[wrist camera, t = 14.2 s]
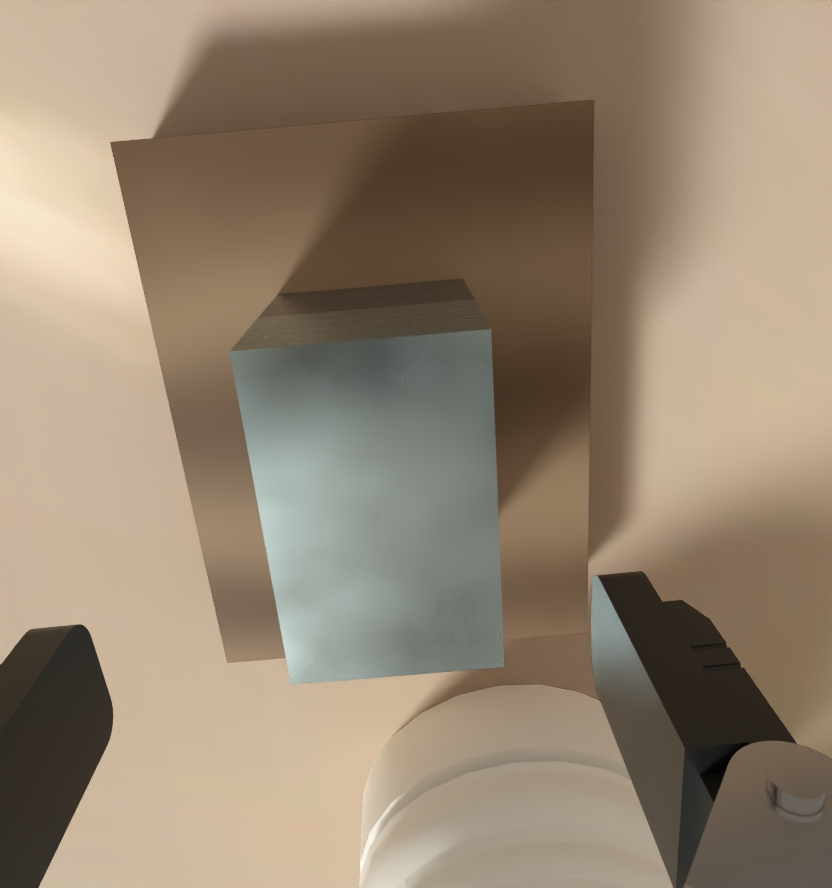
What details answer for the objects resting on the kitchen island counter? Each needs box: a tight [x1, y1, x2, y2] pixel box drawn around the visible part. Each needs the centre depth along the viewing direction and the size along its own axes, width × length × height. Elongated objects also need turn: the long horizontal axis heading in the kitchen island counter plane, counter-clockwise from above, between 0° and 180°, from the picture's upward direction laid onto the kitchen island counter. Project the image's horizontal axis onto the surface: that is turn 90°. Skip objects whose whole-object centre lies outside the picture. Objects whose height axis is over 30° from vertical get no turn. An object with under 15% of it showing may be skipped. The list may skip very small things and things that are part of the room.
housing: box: [230, 278, 505, 685], centre depth 18 cm, size 5×8×6 cm, turn 5°
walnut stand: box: [110, 100, 594, 663], centre depth 22 cm, size 16×12×3 cm
